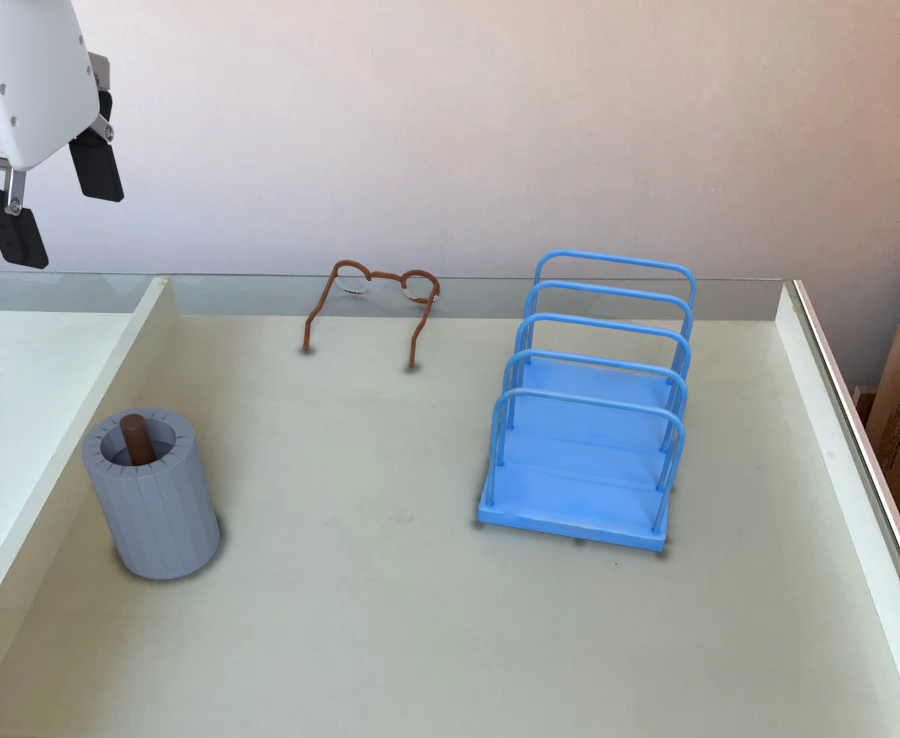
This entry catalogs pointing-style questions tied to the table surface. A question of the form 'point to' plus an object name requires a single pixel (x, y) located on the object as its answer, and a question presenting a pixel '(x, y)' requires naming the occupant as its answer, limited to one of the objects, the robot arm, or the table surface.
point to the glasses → (368, 277)
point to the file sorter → (588, 429)
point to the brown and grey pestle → (137, 439)
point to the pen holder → (154, 495)
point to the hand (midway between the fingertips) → (67, 229)
